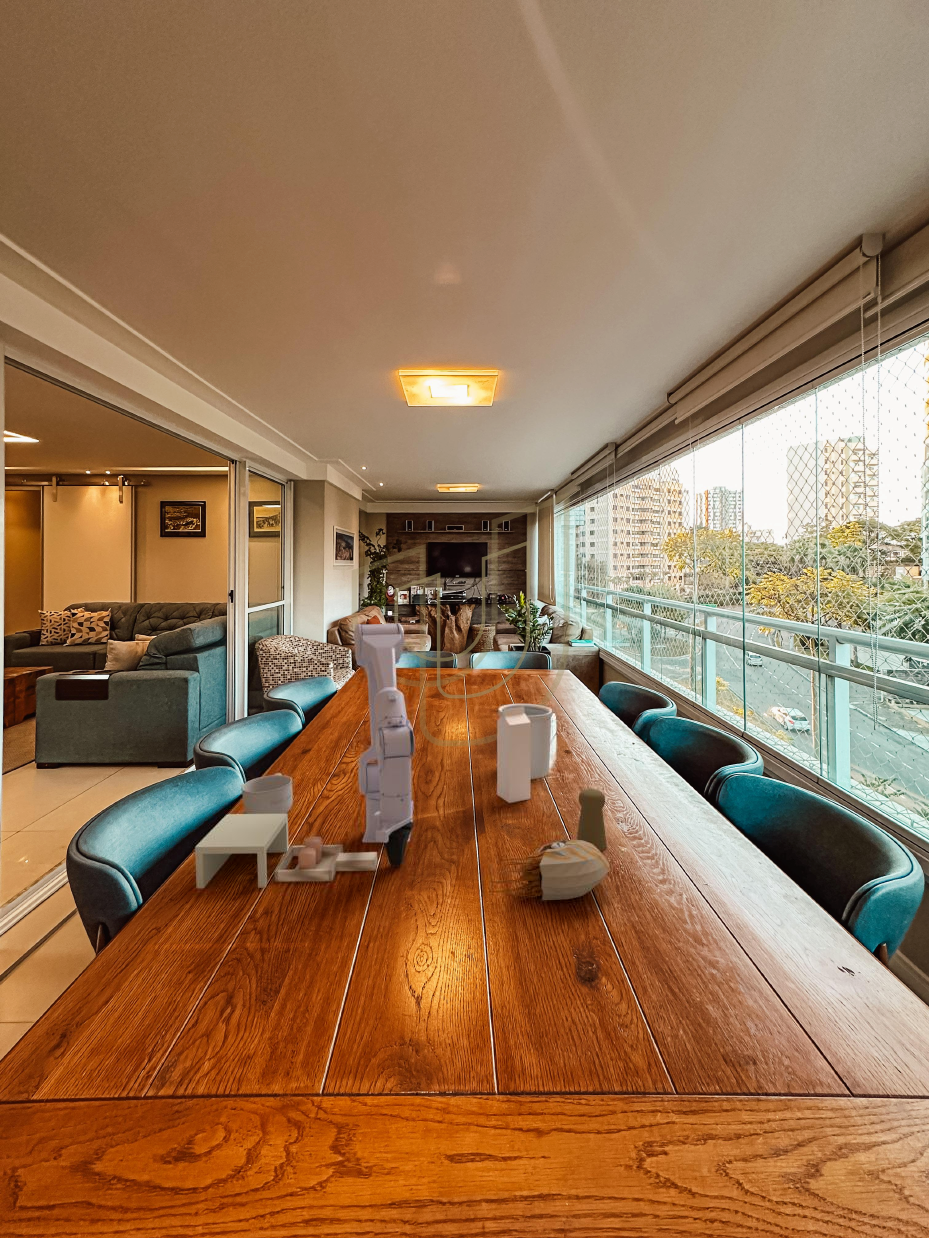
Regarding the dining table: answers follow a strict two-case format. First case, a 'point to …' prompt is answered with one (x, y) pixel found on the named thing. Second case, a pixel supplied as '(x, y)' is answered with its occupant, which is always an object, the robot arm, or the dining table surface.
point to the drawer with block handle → (325, 864)
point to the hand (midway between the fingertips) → (396, 863)
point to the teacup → (268, 795)
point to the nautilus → (560, 870)
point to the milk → (513, 755)
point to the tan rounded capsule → (315, 846)
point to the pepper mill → (592, 818)
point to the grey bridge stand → (241, 843)
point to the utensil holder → (537, 736)
